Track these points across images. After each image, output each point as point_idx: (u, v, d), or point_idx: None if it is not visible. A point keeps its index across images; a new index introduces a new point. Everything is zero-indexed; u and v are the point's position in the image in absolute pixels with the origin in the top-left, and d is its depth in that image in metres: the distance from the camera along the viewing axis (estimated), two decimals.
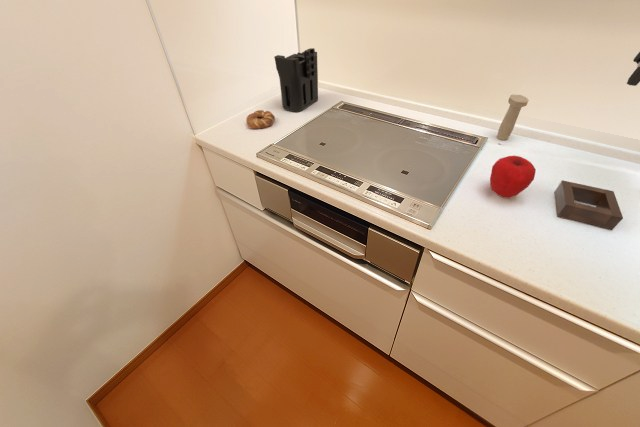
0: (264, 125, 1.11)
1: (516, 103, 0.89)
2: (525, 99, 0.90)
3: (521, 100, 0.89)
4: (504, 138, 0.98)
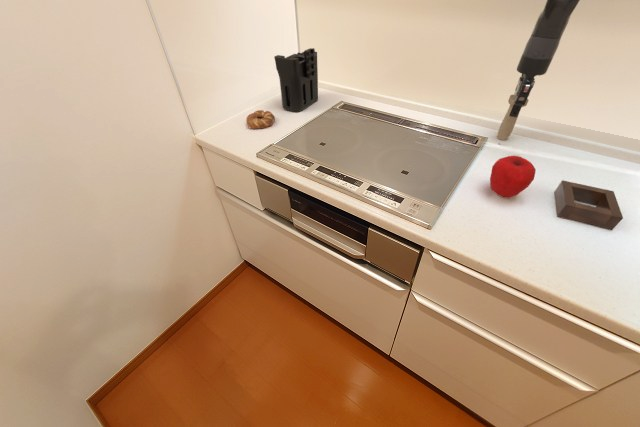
0: (264, 125, 1.11)
1: None
2: None
3: (521, 100, 0.89)
4: (504, 138, 0.98)
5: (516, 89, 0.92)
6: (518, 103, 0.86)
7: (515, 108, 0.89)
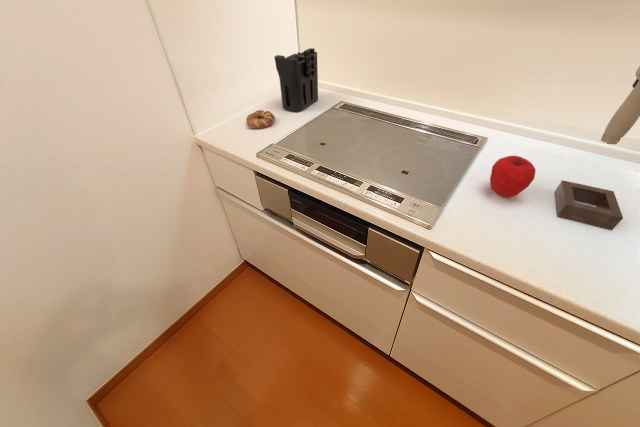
0: (264, 125, 1.11)
1: None
2: None
3: None
4: (619, 134, 0.64)
5: None
6: None
7: None
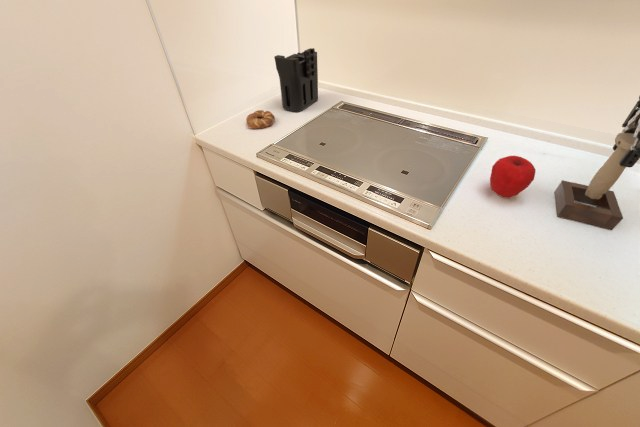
0: (264, 125, 1.11)
1: None
2: None
3: None
4: (601, 192, 0.69)
5: (629, 126, 0.63)
6: None
7: (633, 156, 0.60)
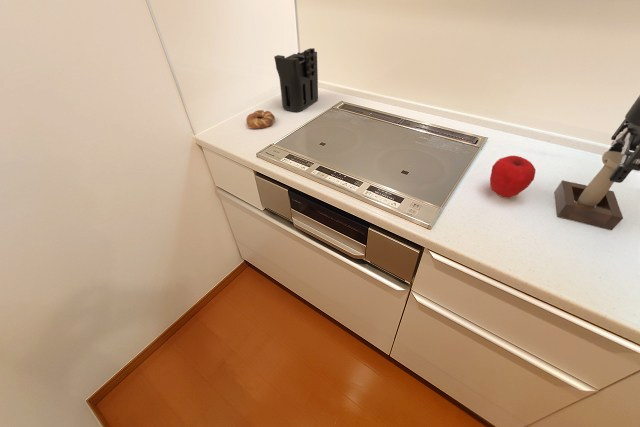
0: (264, 125, 1.11)
1: None
2: None
3: None
4: None
5: (617, 140, 0.65)
6: (631, 167, 0.59)
7: (622, 172, 0.62)
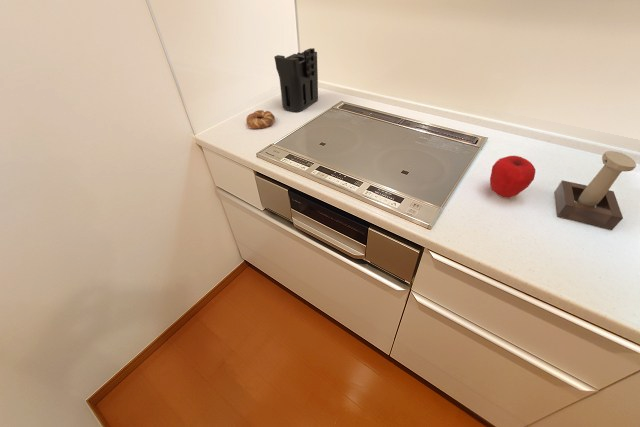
0: (264, 125, 1.11)
1: (618, 166, 0.63)
2: (630, 160, 0.64)
3: (625, 162, 0.63)
4: None
5: None
6: None
7: None
